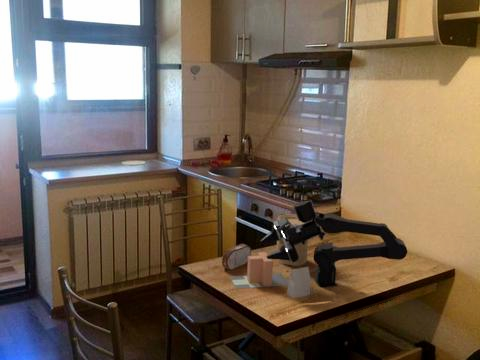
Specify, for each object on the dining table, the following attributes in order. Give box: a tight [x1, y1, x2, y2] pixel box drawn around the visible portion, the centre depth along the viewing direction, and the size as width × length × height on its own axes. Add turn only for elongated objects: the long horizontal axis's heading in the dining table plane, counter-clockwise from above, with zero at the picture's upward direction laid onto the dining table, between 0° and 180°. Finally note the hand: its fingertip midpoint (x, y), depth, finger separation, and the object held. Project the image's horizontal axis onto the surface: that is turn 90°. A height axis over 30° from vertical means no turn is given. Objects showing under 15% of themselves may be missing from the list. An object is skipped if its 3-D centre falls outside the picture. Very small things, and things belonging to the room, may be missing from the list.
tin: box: [221, 243, 252, 271], centre depth 199 cm, size 15×3×8 cm, turn 141°
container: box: [275, 213, 309, 267], centre depth 205 cm, size 13×13×18 cm
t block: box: [246, 251, 274, 286], centre depth 184 cm, size 8×9×9 cm
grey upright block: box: [286, 266, 312, 299], centre depth 174 cm, size 4×7×10 cm, turn 119°
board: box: [229, 272, 288, 290], centre depth 186 cm, size 20×11×1 cm, turn 104°
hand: (263, 249), depth 183 cm, fingers open, 9 cm apart
